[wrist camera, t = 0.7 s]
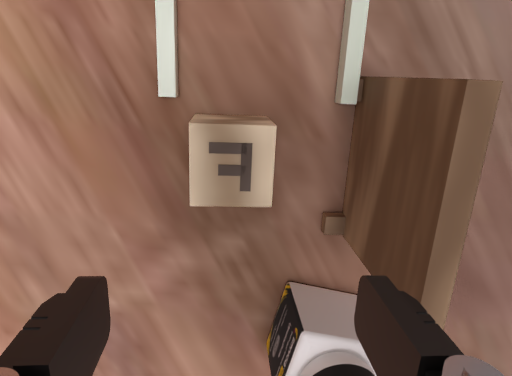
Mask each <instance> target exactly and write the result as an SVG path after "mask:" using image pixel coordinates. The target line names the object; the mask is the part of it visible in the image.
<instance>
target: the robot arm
mask: <svg viewBox="0 0 512 376" xmlns="http://www.w3.org/2000/svg"><path fill="white" fill-rule="evenodd" d="M354 326H355V332H356V335H357V337H358V339H359V341H360V343H361V345H362V347H363V349H364V351H365V353H366V355H367V357H368V359H369V361H370V363H371V365H372V367H373V369H374V371H375V373H376V375H377V376H504V375H503V374H502V373H501V372H499V371H498V370H497V369H496V368H494V367H493V366H491V365H490V364H488V363H486V362H484V361H482V360H480V359H477V358H474V357H471V356H466V355H464V354H463V353H462V352H461V351H460V350H459V348H458V347H457V346H456V345H455V344H454V342H453V341H452V340H451V339H450V338H449V337H448V335H447V334H446V333H445V332H444V331H443V330H442V328H441V327H440V326H439V325H438V324H436V323H435V320H434V319H433V318H432V317H431V315H430V314H428V313H427V311H426V309H425V308H424V307H423V306H422V305H421V304H420V302H419V301H418V300H416V299H415V298H413V297H412V296H410V295H409V294H407V293H406V292H404V291H399V290H398V289H397V288H396V287H395V285H394V284H393V283H392V282H391V280H390V279H389V278H388V277H387V276H385V275H371V276H362V277H361V278H360V281H359V287H358V294H357V300H356V307H355V314H354ZM109 332H110V310H109V299H108V288H107V280H106V278H105V277H104V276H79V277H77V278H76V279H75V281H74V282H73V283H72V285H71V286H70V288H69V289H68V290H67V292H66V293H57V294H56V295H54V296H53V297H51V298H50V299H48V300H47V301H46V302H44V303H43V304H41V305H40V307H39V308H38V309H37V311H36V312H35V313H34V314H33V316H32V317H31V319H29V321H28V322H27V323H26V324H25V326H24V327H23V330H21V331H20V332H19V333H18V335H17V336H16V337H15V338H14V340H13V341H12V342H11V343H10V345H9V346H8V347H7V348H6V350H5V351H4V352H3V353H2V355H1V356H0V376H92V375H93V372H94V370H95V368H96V366H97V363H98V361H99V359H100V356H101V354H102V352H103V350H104V347H105V345H106V343H107V340H108V337H109Z"/></svg>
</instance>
